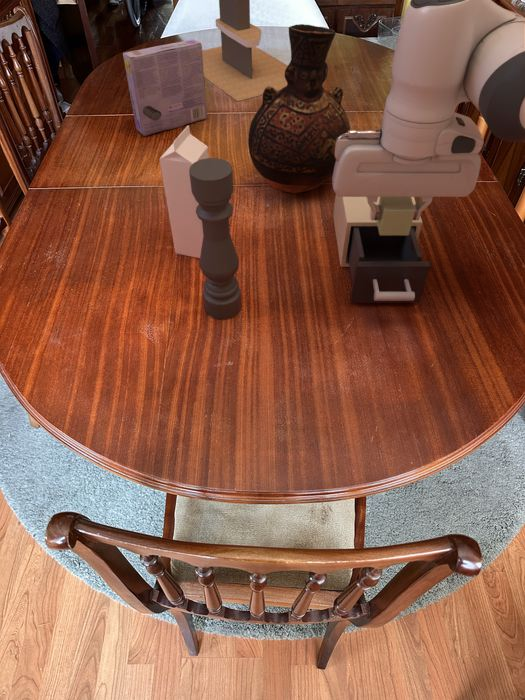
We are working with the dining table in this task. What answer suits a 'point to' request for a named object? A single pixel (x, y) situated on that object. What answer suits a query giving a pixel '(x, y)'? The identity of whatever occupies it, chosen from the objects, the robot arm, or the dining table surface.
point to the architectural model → (241, 56)
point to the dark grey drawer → (385, 266)
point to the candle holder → (216, 236)
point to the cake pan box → (166, 86)
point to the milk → (183, 192)
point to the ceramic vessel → (299, 118)
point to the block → (395, 215)
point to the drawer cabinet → (356, 221)
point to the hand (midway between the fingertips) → (394, 218)
